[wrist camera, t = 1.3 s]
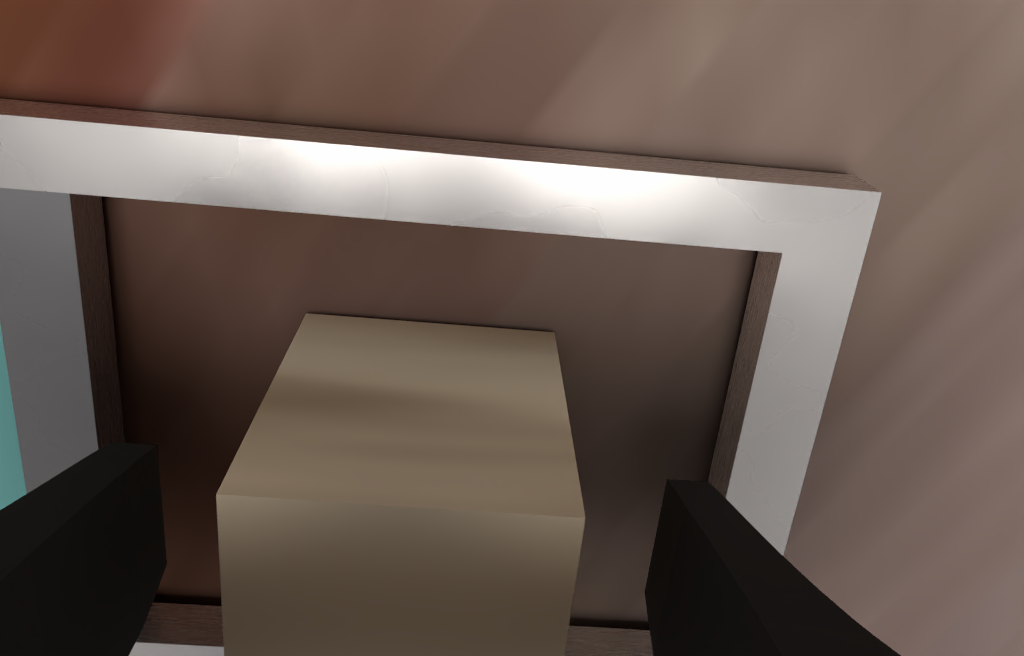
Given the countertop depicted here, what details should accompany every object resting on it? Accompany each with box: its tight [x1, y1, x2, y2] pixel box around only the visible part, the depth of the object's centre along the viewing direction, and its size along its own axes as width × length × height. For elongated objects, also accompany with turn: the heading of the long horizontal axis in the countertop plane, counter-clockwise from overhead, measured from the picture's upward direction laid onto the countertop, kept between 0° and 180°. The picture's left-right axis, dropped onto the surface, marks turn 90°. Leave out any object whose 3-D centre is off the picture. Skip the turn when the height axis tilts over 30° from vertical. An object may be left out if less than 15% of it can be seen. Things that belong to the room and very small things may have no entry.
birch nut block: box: [216, 313, 586, 656], centre depth 13 cm, size 4×4×5 cm
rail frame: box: [0, 99, 882, 656], centre depth 14 cm, size 10×24×1 cm, turn 85°
